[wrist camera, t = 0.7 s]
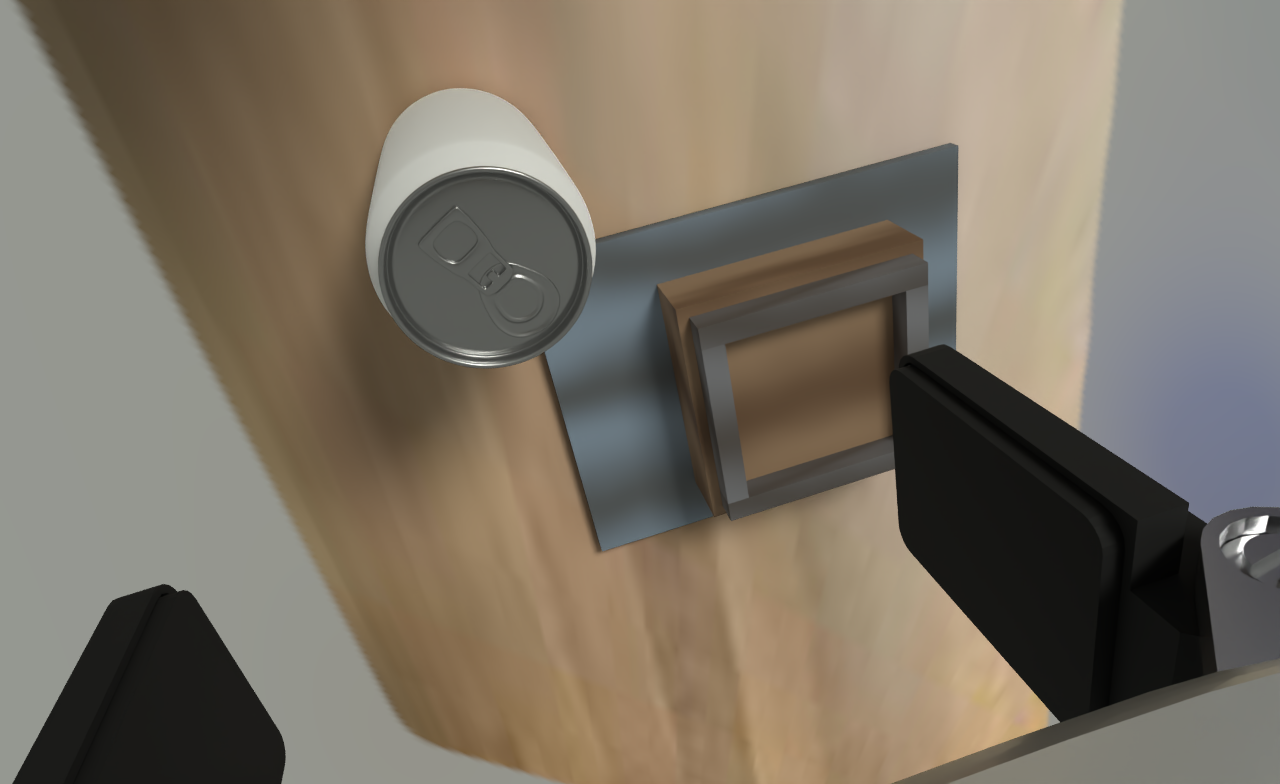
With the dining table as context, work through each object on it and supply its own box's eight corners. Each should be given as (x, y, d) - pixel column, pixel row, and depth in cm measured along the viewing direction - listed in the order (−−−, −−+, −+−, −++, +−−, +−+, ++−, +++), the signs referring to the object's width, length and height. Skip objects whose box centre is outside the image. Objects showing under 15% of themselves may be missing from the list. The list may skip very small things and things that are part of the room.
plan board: (518, 260, 34) (531, 301, 29) (950, 143, 36) (1019, 166, 32) (599, 544, 42) (619, 607, 37) (948, 434, 44) (1003, 482, 40)
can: (470, 283, 34) (492, 424, 23) (343, 171, 30) (304, 277, 20) (580, 174, 33) (655, 271, 22) (461, 46, 29) (484, 91, 19)
